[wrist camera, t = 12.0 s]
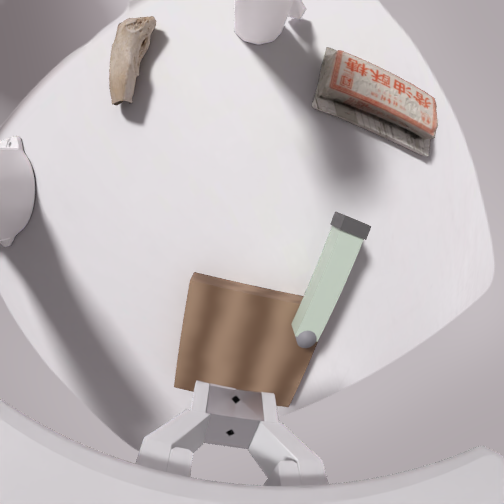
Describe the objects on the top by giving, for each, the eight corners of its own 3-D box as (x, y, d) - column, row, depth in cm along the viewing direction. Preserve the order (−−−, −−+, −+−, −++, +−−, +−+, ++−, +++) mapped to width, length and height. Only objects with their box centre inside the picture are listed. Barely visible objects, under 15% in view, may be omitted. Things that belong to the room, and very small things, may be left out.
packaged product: (318, 100, 27) (334, 34, 24) (309, 110, 32) (324, 50, 29) (442, 156, 28) (449, 94, 26) (422, 158, 33) (431, 100, 31)
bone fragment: (122, 29, 27) (111, 15, 22) (163, 24, 27) (154, 9, 23) (102, 109, 30) (86, 103, 26) (144, 107, 31) (131, 99, 26)
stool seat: (177, 375, 40) (174, 387, 37) (194, 272, 36) (190, 280, 33) (286, 394, 42) (288, 406, 39) (324, 300, 37) (330, 310, 35)
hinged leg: (309, 336, 35) (315, 350, 32) (286, 330, 35) (289, 344, 32) (359, 221, 32) (371, 226, 28) (335, 211, 31) (345, 215, 28)
